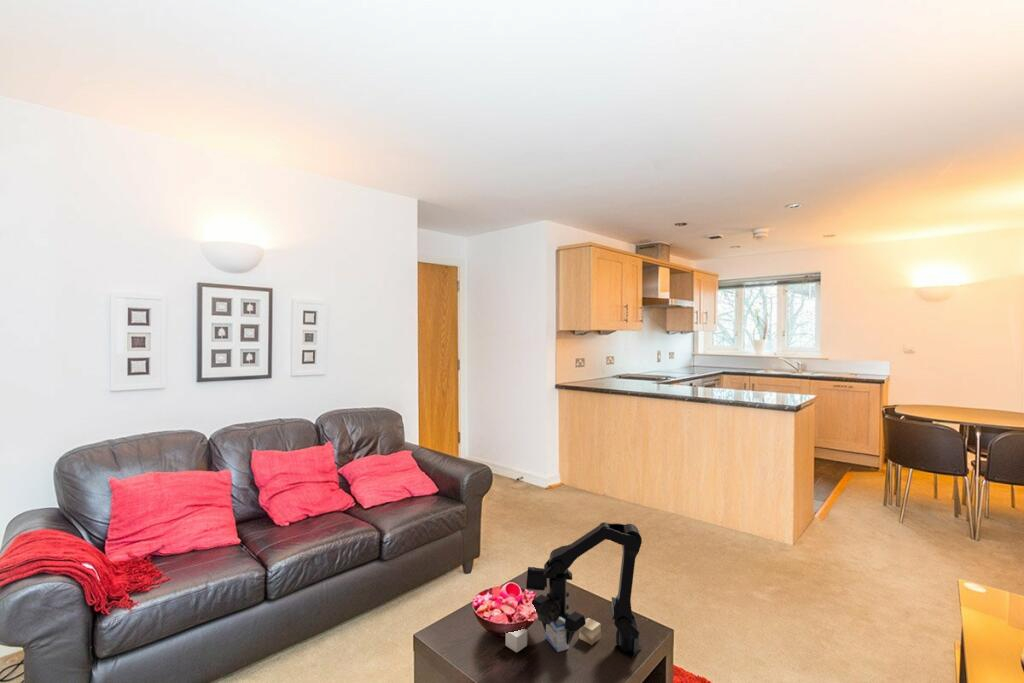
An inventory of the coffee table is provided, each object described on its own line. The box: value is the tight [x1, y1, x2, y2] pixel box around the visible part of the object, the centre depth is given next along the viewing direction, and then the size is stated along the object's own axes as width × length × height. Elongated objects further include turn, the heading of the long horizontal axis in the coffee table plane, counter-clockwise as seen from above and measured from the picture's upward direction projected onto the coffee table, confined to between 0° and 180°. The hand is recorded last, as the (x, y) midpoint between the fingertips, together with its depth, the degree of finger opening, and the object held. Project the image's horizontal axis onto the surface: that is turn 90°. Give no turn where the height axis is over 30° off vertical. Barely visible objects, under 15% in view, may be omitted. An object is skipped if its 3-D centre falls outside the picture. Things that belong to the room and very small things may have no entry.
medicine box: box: [545, 616, 570, 653], centre depth 156 cm, size 8×4×9 cm, turn 25°
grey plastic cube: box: [505, 628, 528, 654], centre depth 155 cm, size 5×5×5 cm
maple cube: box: [578, 617, 602, 646], centre depth 160 cm, size 5×5×5 cm
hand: (557, 637), depth 156 cm, fingers closed on medicine box, 9 cm apart
